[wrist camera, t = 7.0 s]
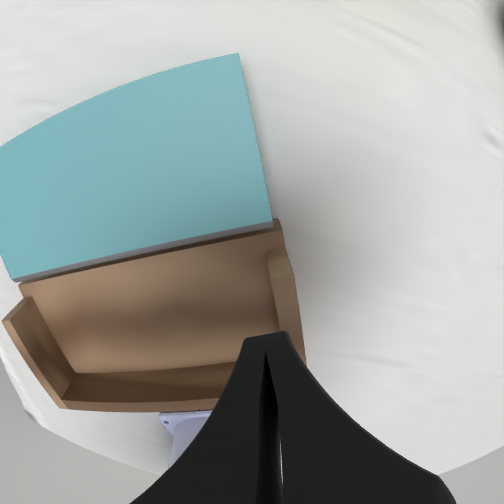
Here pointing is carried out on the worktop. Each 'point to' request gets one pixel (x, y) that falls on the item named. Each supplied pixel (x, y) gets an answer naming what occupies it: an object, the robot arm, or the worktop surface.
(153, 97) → the teal box lid
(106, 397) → the wooden box
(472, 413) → the worktop surface
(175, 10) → the worktop surface
